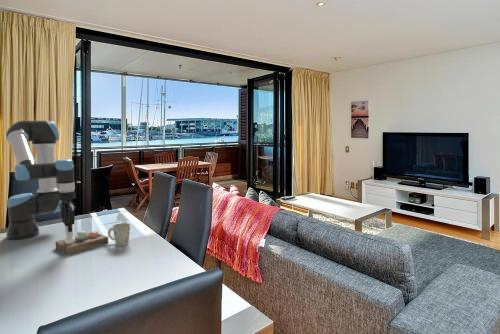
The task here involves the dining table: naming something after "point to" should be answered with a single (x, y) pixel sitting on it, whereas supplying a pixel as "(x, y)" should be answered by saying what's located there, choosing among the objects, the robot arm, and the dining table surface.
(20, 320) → the dining table surface
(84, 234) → the button sage
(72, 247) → the button panel
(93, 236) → the button terracotta
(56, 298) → the dining table surface
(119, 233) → the mug
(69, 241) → the button cream
